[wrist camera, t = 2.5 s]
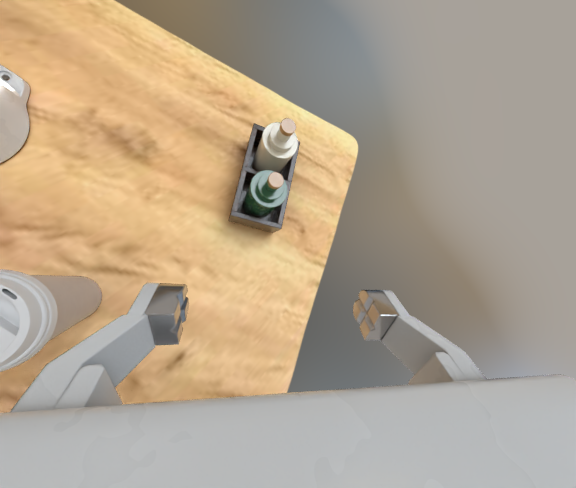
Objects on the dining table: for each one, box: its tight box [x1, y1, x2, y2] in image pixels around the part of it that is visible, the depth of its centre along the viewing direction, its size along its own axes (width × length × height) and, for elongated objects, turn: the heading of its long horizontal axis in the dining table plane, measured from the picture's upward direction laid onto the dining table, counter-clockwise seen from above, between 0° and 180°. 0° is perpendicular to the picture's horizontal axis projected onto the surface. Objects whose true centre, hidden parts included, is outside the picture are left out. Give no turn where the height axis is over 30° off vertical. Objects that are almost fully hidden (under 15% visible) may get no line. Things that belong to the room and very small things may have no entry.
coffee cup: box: [0, 269, 102, 372], centre depth 26 cm, size 10×10×15 cm
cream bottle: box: [252, 118, 298, 173], centre depth 36 cm, size 6×6×14 cm
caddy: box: [229, 123, 300, 233], centre depth 40 cm, size 16×9×6 cm, turn 168°
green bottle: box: [242, 170, 288, 219], centre depth 35 cm, size 6×6×14 cm
